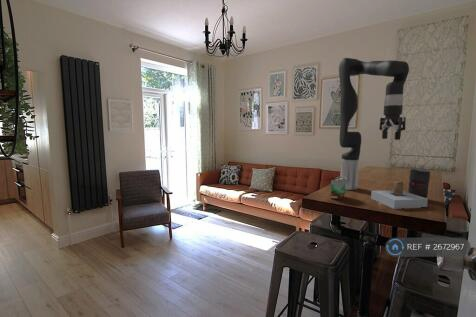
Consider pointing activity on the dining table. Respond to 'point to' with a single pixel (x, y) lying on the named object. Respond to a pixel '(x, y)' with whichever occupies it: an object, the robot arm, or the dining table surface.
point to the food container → (338, 188)
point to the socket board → (399, 199)
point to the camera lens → (419, 182)
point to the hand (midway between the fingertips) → (390, 139)
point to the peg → (398, 188)
